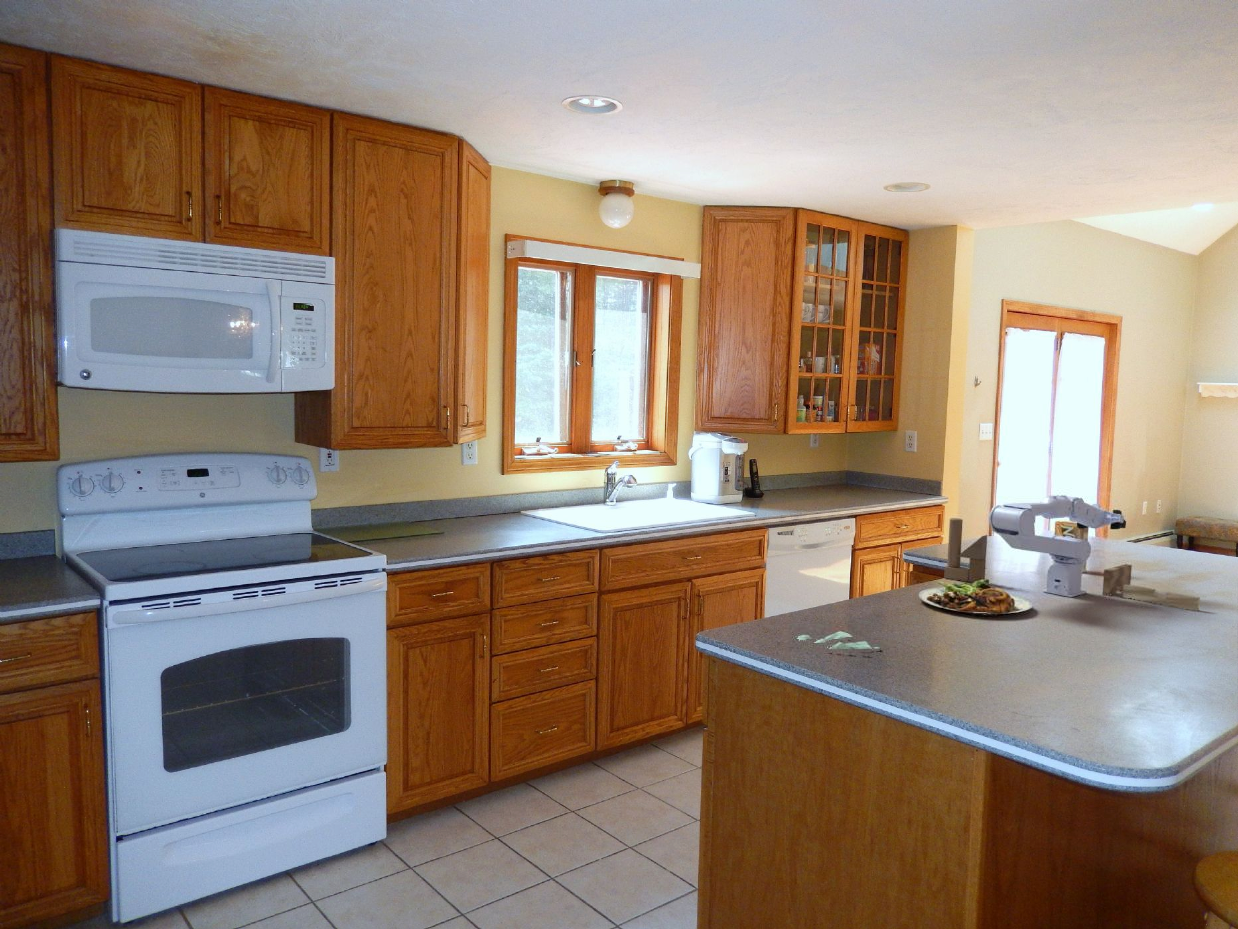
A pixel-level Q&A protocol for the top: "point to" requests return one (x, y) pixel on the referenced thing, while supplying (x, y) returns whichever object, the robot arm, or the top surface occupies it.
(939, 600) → the plate of food
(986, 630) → the top surface
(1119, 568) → the wooden plank
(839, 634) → the cloth
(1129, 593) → the birch board
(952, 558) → the wooden block
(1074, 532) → the candy box
